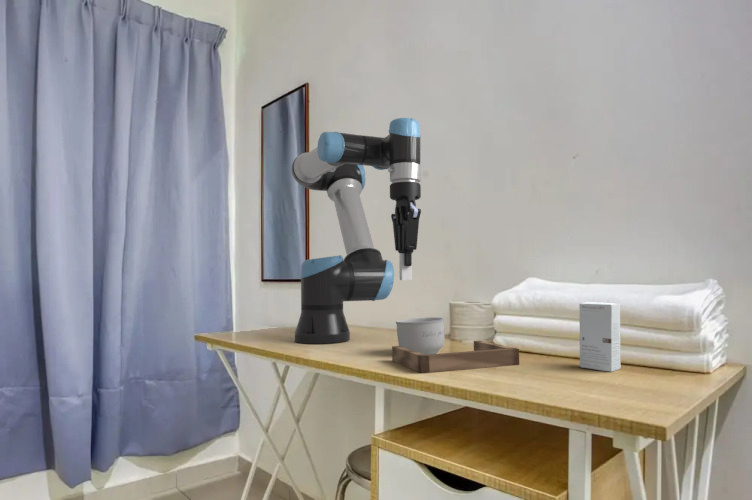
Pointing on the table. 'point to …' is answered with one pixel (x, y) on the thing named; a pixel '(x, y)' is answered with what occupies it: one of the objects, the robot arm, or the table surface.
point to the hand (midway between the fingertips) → (405, 280)
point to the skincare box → (600, 336)
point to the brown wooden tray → (457, 358)
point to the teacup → (421, 334)
